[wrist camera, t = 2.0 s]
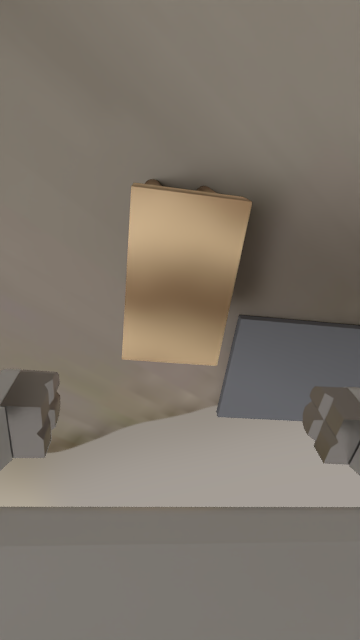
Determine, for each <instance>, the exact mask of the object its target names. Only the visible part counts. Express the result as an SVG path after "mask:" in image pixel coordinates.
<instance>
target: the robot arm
mask: <svg viewBox="0 0 360 640" xmlns="http://www.w3.org/2000/svg"><path fill="white" fill-rule="evenodd" d="M59 384H60V383H59V374H58V373H57V372H49V371H35V370H20V369H3V370H2V371H0V470H2V469H3V468H4V467H5V466H6V465H7V464H8V463H9V462H10V461H11V460H12V458H44V457H45V456H46V453H47V450H48V447H49V444H50V442H51V430H52V429H53V428H55V427H56V424H57V421H58V417H59V412H60V395H59V394H58V393H57V389H58V386H59ZM309 396H310V399H311V402H310V403H309V404H307V405H306V406H305V408H304V411H303V426H304V429H305V431H306V433H307V435H308V436H310V437H311V438H312V439H314V440H315V443H314V447H315V449H316V451H317V453H318V454H319V456H320V458H321V460H322V461H323V463H328V464H348V465H349V466H350V467H351V468H352V469H353V470H354V471H356V473H358V474H359V475H360V388H359V387H324V386H315V387H314V388H313V389H312V390H311V393H310V395H309ZM0 640H360V507H0Z"/></svg>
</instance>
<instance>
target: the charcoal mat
mask: <svg viewBox="0 0 360 640" xmlns="http://www.w3.org/2000/svg"><path fill="white" fill-rule="evenodd" d="M315 386H324V387H359V388H360V325H348V324H337V323H325V322H314V321H302V320H291V319H279V318H268V317H256V316H245V315H239V317H238V322H237V326H236V330H235V335H234V339H233V343H232V347H231V352H230V356H229V360H228V364H227V369H226V373H225V377H224V382H223V386H222V390H221V394H220V399H219V403H218V407H217V411H216V412H217V416H218V417H231V418H250V419H270V420H291V421H303V411H304V408H305V406H306V405H307V404H309V403H310V402H311V399H310V396H309V395H310V393H311V390H312V389H313V388H314V387H315Z"/></svg>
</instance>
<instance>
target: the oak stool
mask: <svg viewBox="0 0 360 640" xmlns="http://www.w3.org/2000/svg"><path fill="white" fill-rule="evenodd" d="M251 206H252V201H250V200H248V199H246V198H244V197H240V196H233V195H225V194H217V193H216V192H214V191H213V190H211V189H210V188H209V187H207V186H202V187H199V188H198V189H197V190H196V191H194V190H187V189H179V188H171V187H164V186H161V184H160V183H159V182H158V181H157V180H154V179H150V180H148V181H147V182H146V183H145V184H141V183H133V185H132V186H131V203H130V222H129V240H128V258H127V276H126V294H125V312H124V330H123V349H122V359H124V360H139V361H153V362H168V363H183V364H197V365H212V366H217V363H218V358H219V353H220V349H221V344H222V340H223V335H224V330H225V326H226V321H227V317H228V312H229V307H230V303H231V298H232V293H233V289H234V284H235V280H236V275H237V270H238V266H239V261H240V256H241V252H242V247H243V243H244V238H245V233H246V229H247V224H248V219H249V215H250V210H251Z"/></svg>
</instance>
